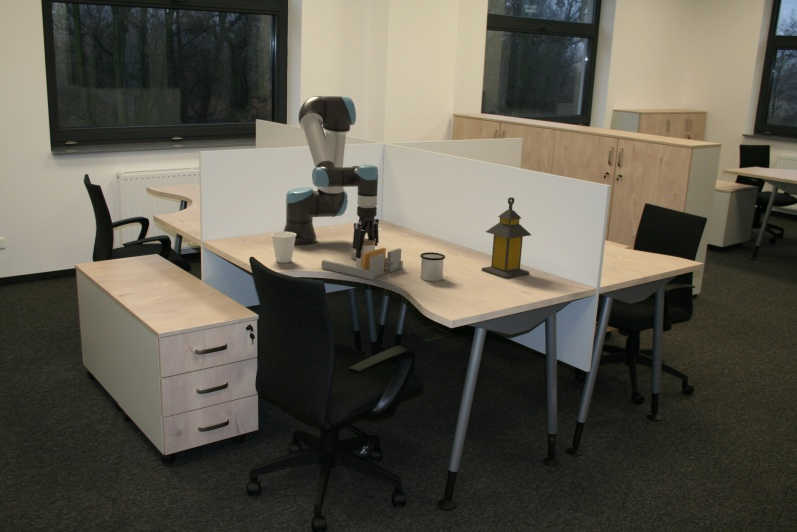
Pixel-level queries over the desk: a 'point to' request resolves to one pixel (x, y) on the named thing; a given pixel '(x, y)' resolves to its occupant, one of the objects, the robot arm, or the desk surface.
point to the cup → (283, 246)
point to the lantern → (507, 245)
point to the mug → (432, 266)
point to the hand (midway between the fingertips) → (365, 263)
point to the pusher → (370, 254)
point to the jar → (368, 246)
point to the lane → (375, 265)
